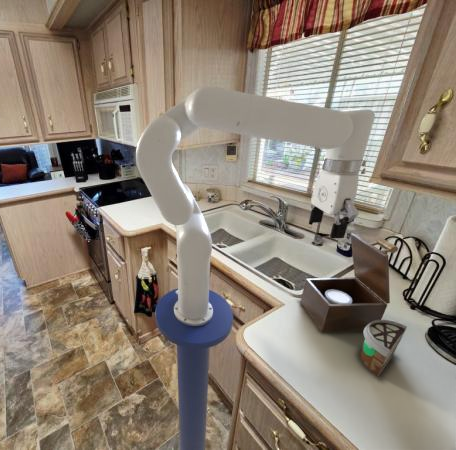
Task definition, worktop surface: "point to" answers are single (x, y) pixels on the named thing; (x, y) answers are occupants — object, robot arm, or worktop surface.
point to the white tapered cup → (337, 297)
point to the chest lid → (372, 265)
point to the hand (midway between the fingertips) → (325, 229)
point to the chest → (341, 313)
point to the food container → (380, 343)
